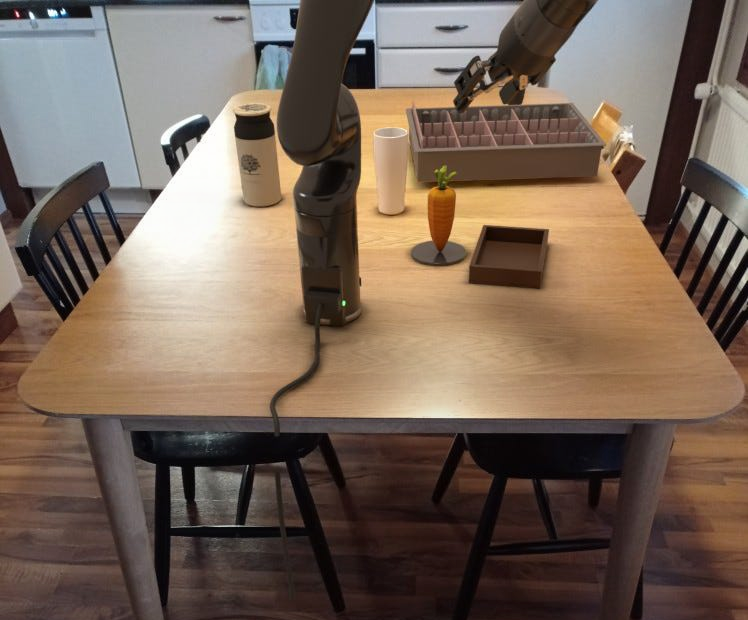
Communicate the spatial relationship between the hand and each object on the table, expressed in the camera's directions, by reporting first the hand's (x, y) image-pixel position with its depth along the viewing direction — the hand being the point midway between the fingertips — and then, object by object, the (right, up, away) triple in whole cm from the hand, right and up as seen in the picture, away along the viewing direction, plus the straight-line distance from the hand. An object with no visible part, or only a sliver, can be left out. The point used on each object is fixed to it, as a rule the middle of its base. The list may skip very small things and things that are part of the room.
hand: (480, 103), depth 117 cm
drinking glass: (-13, -1, +41) cm, 43 cm away
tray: (+8, -18, +21) cm, 28 cm away
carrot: (-4, -15, +24) cm, 28 cm away
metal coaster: (-4, -15, +24) cm, 29 cm away
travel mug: (-40, +3, +47) cm, 61 cm away
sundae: (+20, +38, +84) cm, 94 cm away
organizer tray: (+12, +17, +61) cm, 65 cm away
